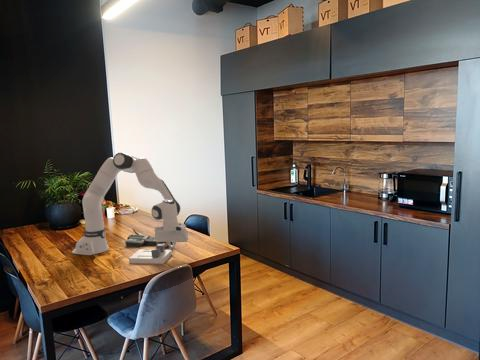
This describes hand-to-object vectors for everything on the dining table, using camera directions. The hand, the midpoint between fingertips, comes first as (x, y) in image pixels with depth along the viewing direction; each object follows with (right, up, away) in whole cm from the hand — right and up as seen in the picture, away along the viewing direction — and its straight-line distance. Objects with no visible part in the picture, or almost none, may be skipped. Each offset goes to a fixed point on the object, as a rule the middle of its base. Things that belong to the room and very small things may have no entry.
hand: (172, 248), depth 226 cm
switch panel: (-12, -6, -1) cm, 14 cm away
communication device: (-23, -2, +27) cm, 36 cm away
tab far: (-7, -2, +1) cm, 7 cm away
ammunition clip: (-8, -3, +17) cm, 19 cm away
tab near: (-8, -3, -6) cm, 11 cm away
